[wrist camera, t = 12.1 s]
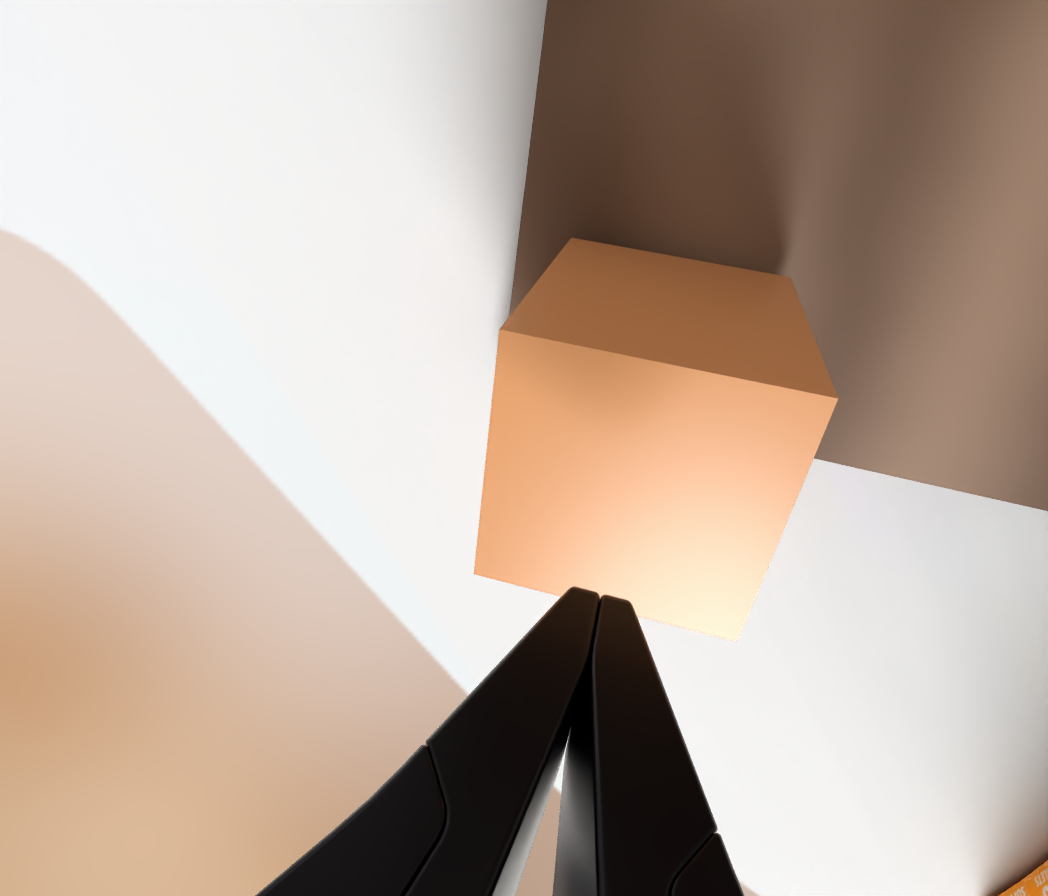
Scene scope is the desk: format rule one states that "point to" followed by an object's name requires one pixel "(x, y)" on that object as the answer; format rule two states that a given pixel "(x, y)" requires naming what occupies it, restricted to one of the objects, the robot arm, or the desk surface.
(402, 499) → the desk surface
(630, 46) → the walnut board
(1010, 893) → the supplement box
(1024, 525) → the desk surface
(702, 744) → the desk surface
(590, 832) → the robot arm
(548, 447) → the peach wooden cube
